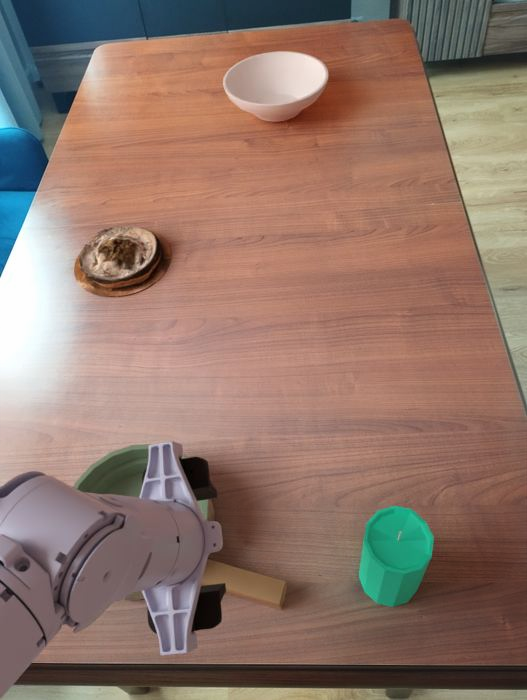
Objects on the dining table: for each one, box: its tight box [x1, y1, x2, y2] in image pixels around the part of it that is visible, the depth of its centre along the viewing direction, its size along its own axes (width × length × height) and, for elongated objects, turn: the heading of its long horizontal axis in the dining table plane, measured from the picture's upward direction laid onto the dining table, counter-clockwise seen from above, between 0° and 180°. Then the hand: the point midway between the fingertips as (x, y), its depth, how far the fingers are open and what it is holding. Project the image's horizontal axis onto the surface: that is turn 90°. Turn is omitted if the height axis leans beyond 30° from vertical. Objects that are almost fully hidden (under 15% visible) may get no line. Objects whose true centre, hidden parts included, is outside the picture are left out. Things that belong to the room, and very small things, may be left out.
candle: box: [358, 505, 435, 608], centre depth 54 cm, size 6×6×12 cm
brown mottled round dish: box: [73, 226, 172, 298], centre depth 89 cm, size 15×15×4 cm
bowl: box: [222, 50, 330, 123], centre depth 110 cm, size 20×20×7 cm
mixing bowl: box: [72, 443, 216, 601], centre depth 62 cm, size 15×15×5 cm
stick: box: [201, 558, 288, 611], centre depth 58 cm, size 2×9×2 cm, turn 73°
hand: (210, 541), depth 50 cm, fingers open, 7 cm apart
